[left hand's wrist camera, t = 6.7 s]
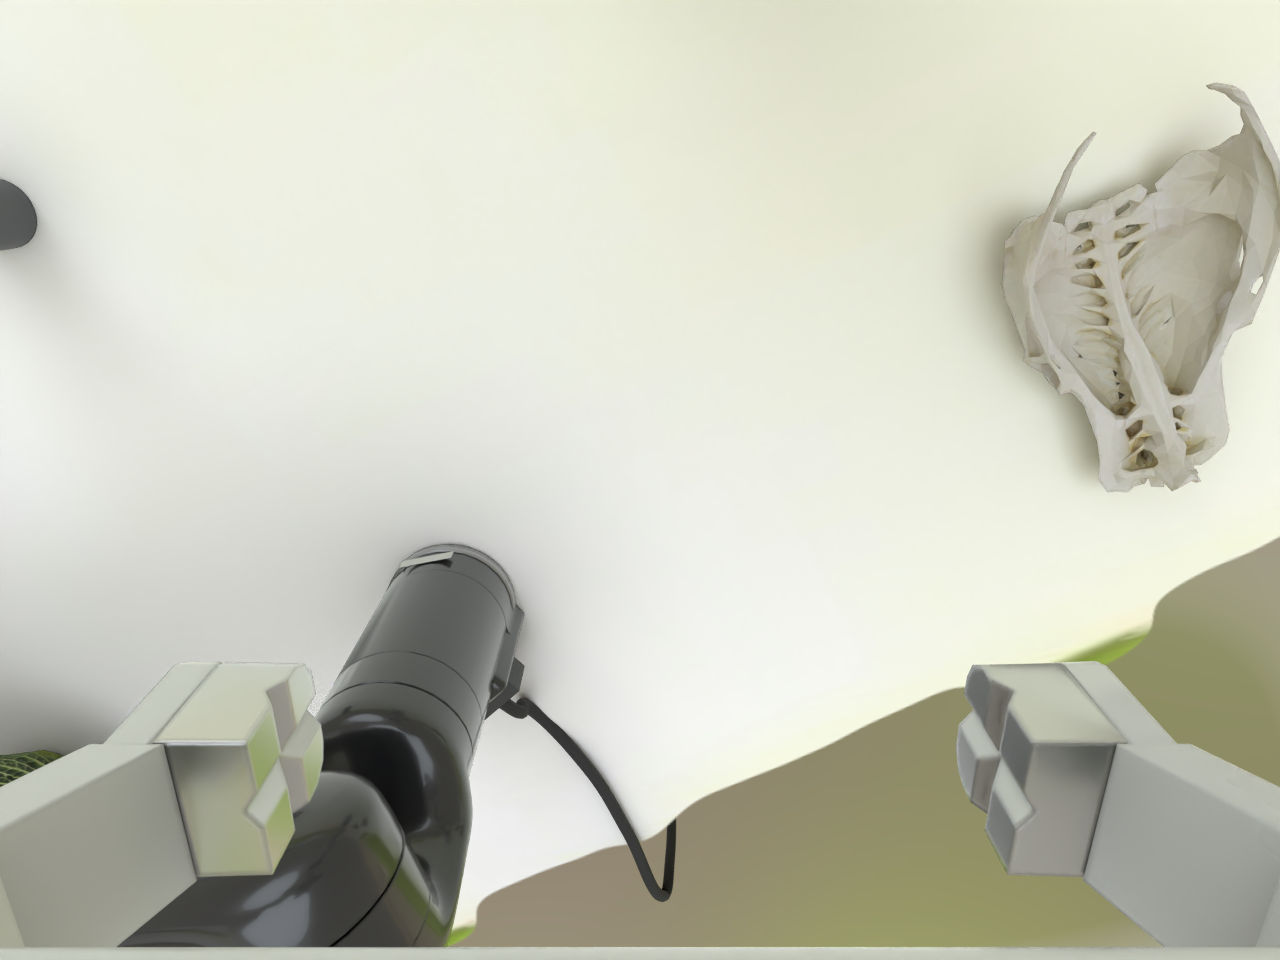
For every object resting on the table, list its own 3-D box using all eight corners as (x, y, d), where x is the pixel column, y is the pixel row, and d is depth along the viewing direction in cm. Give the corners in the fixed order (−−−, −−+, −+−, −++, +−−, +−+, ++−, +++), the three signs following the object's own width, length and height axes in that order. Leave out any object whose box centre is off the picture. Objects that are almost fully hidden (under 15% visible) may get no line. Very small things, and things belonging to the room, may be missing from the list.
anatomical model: (1300, 48, 43) (1356, 479, 51) (1192, 69, 52) (1254, 434, 59) (1008, 166, 45) (1104, 562, 53) (951, 167, 54) (1041, 507, 61)
